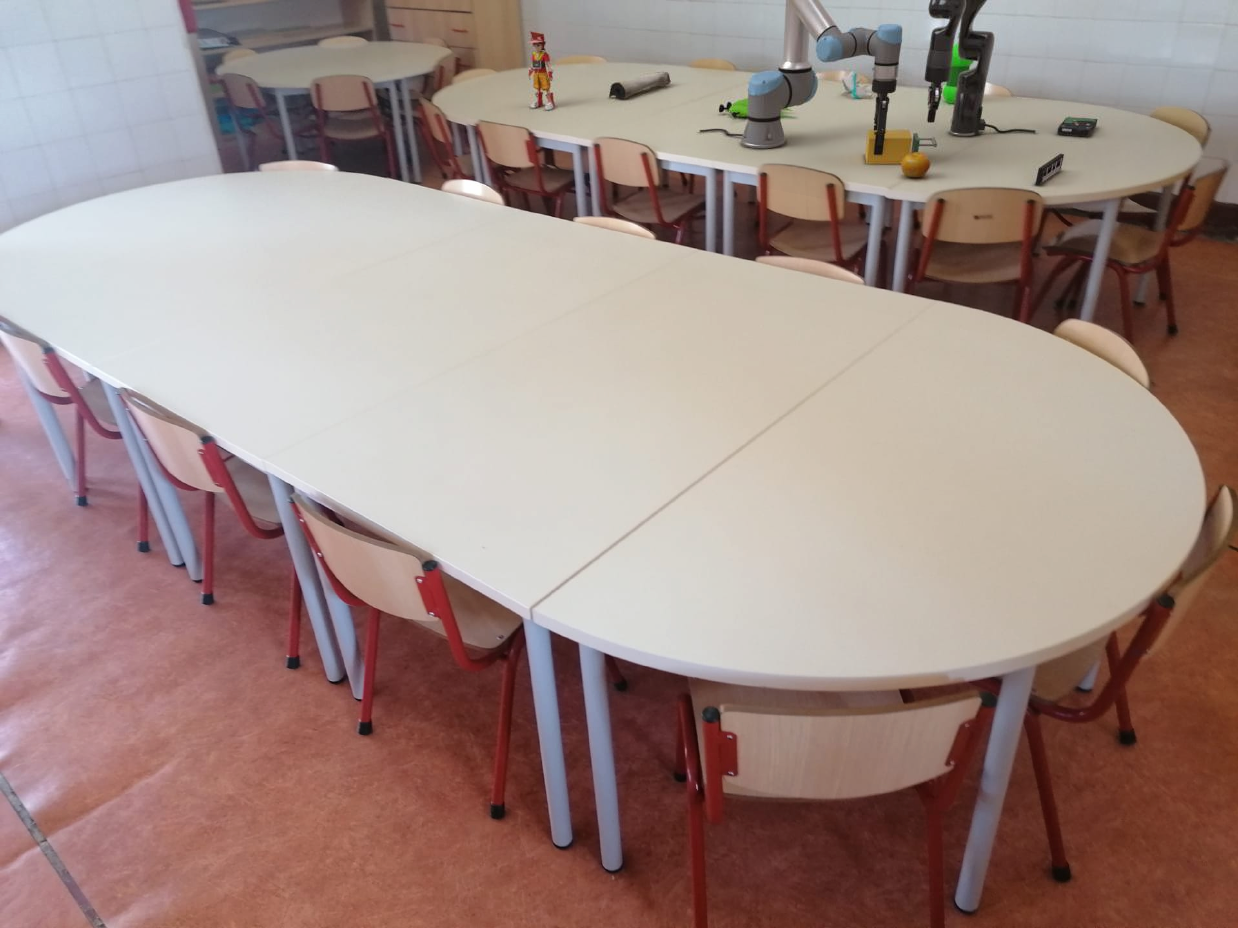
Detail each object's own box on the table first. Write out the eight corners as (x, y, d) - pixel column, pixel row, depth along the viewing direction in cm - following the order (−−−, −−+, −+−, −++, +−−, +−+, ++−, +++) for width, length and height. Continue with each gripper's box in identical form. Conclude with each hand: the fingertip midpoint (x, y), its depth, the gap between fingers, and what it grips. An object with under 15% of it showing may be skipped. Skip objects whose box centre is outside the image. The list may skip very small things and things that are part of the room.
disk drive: (1089, 138, 306) (1096, 126, 316) (1091, 129, 305) (1098, 118, 315) (1056, 135, 311) (1064, 124, 321) (1058, 126, 309) (1066, 115, 320)
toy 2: (709, 116, 351) (780, 128, 338) (711, 102, 348) (782, 114, 336) (739, 105, 371) (807, 117, 359) (741, 92, 368) (809, 103, 356)
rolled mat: (651, 76, 408) (662, 61, 399) (662, 93, 408) (674, 79, 400) (605, 92, 391) (616, 77, 383) (617, 110, 391) (628, 95, 383)
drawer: (932, 152, 299) (935, 133, 295) (935, 160, 292) (938, 140, 288) (876, 153, 302) (878, 133, 298) (878, 160, 295) (880, 140, 291)
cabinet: (906, 155, 301) (909, 130, 297) (908, 164, 293) (912, 138, 289) (865, 155, 304) (867, 130, 299) (866, 164, 296) (869, 138, 291)
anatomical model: (837, 70, 373) (861, 64, 372) (839, 96, 379) (863, 89, 378) (847, 78, 361) (872, 71, 360) (850, 104, 367) (874, 98, 366)
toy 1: (525, 109, 381) (517, 32, 364) (534, 104, 388) (527, 28, 371) (550, 110, 377) (543, 32, 360) (559, 105, 384) (553, 28, 367)
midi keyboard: (1039, 185, 269) (1043, 168, 266) (1035, 184, 270) (1038, 168, 267) (1060, 170, 279) (1064, 154, 277) (1056, 169, 280) (1060, 153, 277)
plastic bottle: (973, 101, 354) (984, 32, 339) (955, 106, 349) (966, 36, 335) (952, 97, 361) (962, 29, 346) (934, 102, 356) (944, 33, 342)
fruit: (895, 167, 279) (911, 144, 276) (896, 170, 287) (913, 147, 284) (917, 183, 278) (934, 160, 275) (918, 184, 285) (935, 162, 282)
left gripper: (870, 71, 294) (863, 140, 307) (874, 87, 276) (867, 160, 289) (894, 70, 293) (886, 140, 306) (899, 86, 275) (891, 160, 288)
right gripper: (924, 60, 286) (916, 117, 296) (928, 69, 275) (920, 127, 285) (948, 60, 285) (940, 117, 294) (954, 68, 274) (945, 127, 284)
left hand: (877, 150), depth 297 cm, fingers closed on cabinet, 10 cm apart
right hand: (930, 122), depth 290 cm, fingers closed
